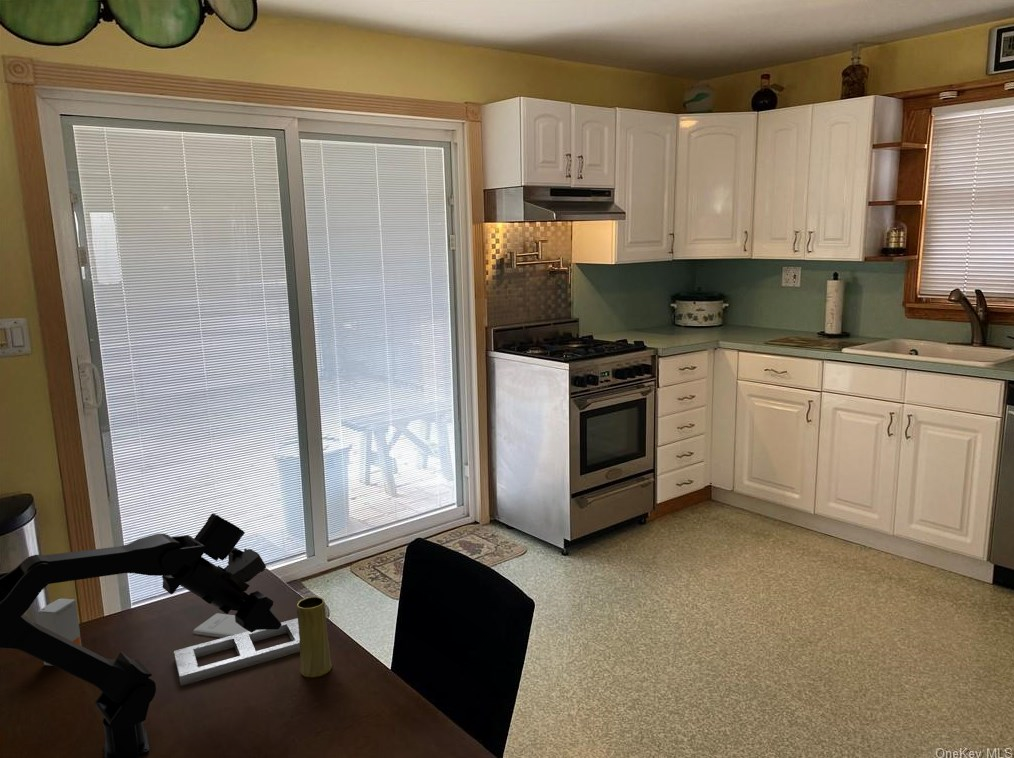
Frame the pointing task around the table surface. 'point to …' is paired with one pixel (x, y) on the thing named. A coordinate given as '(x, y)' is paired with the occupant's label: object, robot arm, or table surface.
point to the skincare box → (61, 619)
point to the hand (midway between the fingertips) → (268, 618)
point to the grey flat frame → (243, 647)
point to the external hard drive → (220, 626)
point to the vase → (313, 637)
